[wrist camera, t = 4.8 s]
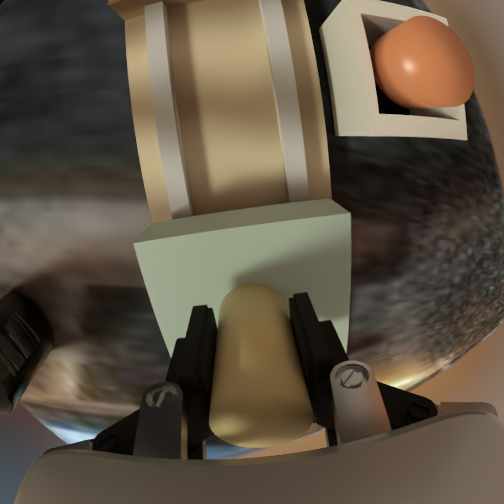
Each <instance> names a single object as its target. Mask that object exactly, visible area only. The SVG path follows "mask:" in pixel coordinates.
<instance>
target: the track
mask: <svg viewBox="0 0 504 504" xmlns="http://www.w3.org/2000/svg"><path fill="white" fill-rule="evenodd" d="M108 6H109V7H110V8H111V9H113V10H114V11H115V12H116V13H117V14H118V15H119V16H120V17H121V18H122V19H124V20H125V36H126V53H127V66H128V78H129V88H130V97H131V105H132V113H133V120H134V128H135V134H136V141H137V147H138V153H139V159H140V165H141V170H142V176H143V181H144V186H145V191H146V196H147V201H148V206H149V210H150V215H151V219H152V223H155V222H161V221H167V220H173V219H179V218H185V217H191V216H198V215H204V214H211V213H217V212H224V211H231V210H238V209H245V208H253V207H260V206H268V205H276V204H284V203H292V202H301V201H309V200H319V199H328V198H330V199H331V200H332V194H331V180H330V167H329V156H328V145H327V136H326V127H325V119H324V111H323V103H322V96H321V89H320V82H319V76H318V70H317V64H316V58H315V52H314V47H313V42H312V37H311V32H310V27H309V22H308V17H307V13H306V8H305V4H304V0H108Z"/></svg>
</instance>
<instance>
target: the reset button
mask: <svg viewBox="0 0 504 504" xmlns="http://www.w3.org/2000/svg"><path fill="white" fill-rule="evenodd" d="M370 57H371V63H372V68H373V74H374V79H375V82H376V83H377V85H378V87H379V88H380V89H381V91H382V92H383V93H384V94H385V95H386V96H387V97H388V98H389V99H390V100H391V101H393V102H394V103H396V104H397V105H399V106H402V107H404V108H407V109H426V108H440V107H456V106H460V105H462V104H464V103H465V102H466V101H467V100H468V99H469V98H470V96H471V94H472V91H473V88H474V69H473V65H472V61H471V58H470V56H469V54H468V51H467V50H466V48H465V46H464V44H463V43H462V41H461V40H460V39H459V37H458V36H457V35H456V34H455V33H454V32H453V31H452V30H451V29H450V28H449V27H448V26H447V25H445V24H444V23H442V22H441V21H439V20H437V19H435V18H432V17H429V16H422V15H421V16H414V17H412V18H410V19H408V20H406V21H405V22H403V23H401V24H400V25H398V26H396V27H395V28H393V29H391V30H390V31H388V32H386V33H385V34H383V35H382V36H380V37H379V38H377V39H376V40H375V42H374V43H373V45H372V47H371V50H370Z"/></svg>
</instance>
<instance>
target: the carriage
mask: <svg viewBox="0 0 504 504" xmlns="http://www.w3.org/2000/svg"><path fill="white" fill-rule="evenodd" d="M133 244H134V248H135V251H136V255H137V258H138V262H139V265H140V269H141V272H142V276H143V279H144V282H145V285H146V289H147V292H148V295H149V298H150V301H151V304H152V307H153V310H154V313H155V316H156V319H157V321H158V324H159V327H160V330H161V333H162V335H163V338H164V341H165V343H166V346H167V349H168V351H169V354H170V356H171V357H172V354H173V350H174V346H175V343H176V340H177V339H178V338H185V336H186V332H187V328H188V324H189V320H190V316H191V312H192V308H193V306H198V305H207V306H208V308H213V312H214V316H215V320H216V325H217V339H216V349H215V359H214V369H213V380H212V392H211V403H210V415H209V426H210V428H211V430H212V432H213V433H214V434H215V435H216V436H217V437H218V438H220V439H222V440H223V441H225V442H228V443H230V444H233V445H237V446H241V447H248V448H265V447H273V446H277V445H281V444H285V443H287V442H290V441H292V440H294V439H296V438H298V437H299V436H301V435H302V434H304V433H305V432H306V431H307V430H308V429H309V428H310V426H311V424H312V422H313V418H314V416H313V410H312V406H311V402H310V398H309V394H308V390H307V386H306V382H305V378H304V374H303V370H302V366H301V362H300V358H299V354H298V350H297V346H296V342H295V338H294V334H293V330H292V326H291V322H290V312H289V298H292V297H293V294H295V293H302V292H307V293H308V296H309V298H310V300H311V303H312V305H313V308H314V310H315V313H316V315H317V318H318V320H319V322H320V321H325V320H331V321H332V323H333V325H334V327H335V330H336V332H337V334H338V336H339V339H340V341H341V343H342V345H343V347H344V350H345V352H346V353H347V341H348V328H349V312H350V290H351V213H350V212H348V211H347V210H346V209H344V208H343V207H341V206H340V205H339V204H337V203H336V202H334V201H333V200H331V199H330V198H328V199H319V200H309V201H301V202H292V203H284V204H276V205H268V206H260V207H253V208H245V209H238V210H231V211H224V212H217V213H211V214H204V215H198V216H191V217H185V218H179V219H173V220H167V221H161V222H155V223H152V224H151V225H150V226H149V227H148V228H147V229H146V230H145V231H144V232H143V234H142V235H141V236H140V237H139V238H138V239H137V240H136V241H135V242H134V243H133Z"/></svg>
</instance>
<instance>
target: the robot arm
mask: <svg viewBox="0 0 504 504" xmlns="http://www.w3.org/2000/svg"><path fill="white" fill-rule="evenodd" d="M0 1H1V0H0ZM289 312H290V322H291V326H292V330H293V334H294V338H295V342H296V346H297V350H298V354H299V358H300V362H301V366H302V370H303V374H304V378H305V382H306V386H307V390H308V394H309V398H310V402H311V406H312V410H313V416H314V418H313V423H317V424H319V425H321V426H323V427H325V433H326V442H327V447H326V448H321V449H316V450H311V451H304V452H298V453H291V454H284V455H276V456H267V457H256V458H243V459H220V460H207V453H206V441H205V439H206V438H208V437H209V436H210V435H211V434H214V433H213V432H212V430H211V428H210V426H209V415H210V403H211V392H212V380H213V369H214V359H215V349H216V339H217V325H216V320H215V316H214V312H213V308H208V306H207V305H198V306H193V308H192V312H191V316H190V320H189V324H188V328H187V332H186V336H185V338H178V339H177V340H176V343H175V346H174V350H173V354H172V357H171V361H170V365H169V369H168V372H167V376H166V380H165V382H159V383H156V384H154V385H152V386H150V387H149V388H148V389H147V390H146V391H145V392H144V394H143V396H142V401H141V406H140V409H138V410H137V411H135V412H134V413H132V414H130V415H129V416H127V417H125V418H124V419H122V420H120V421H119V422H117V423H115V424H114V425H112V426H110V427H109V428H107V429H105V430H104V431H102V432H100V433H99V434H98V435H97V436H96V437H95V439H94V441H93V442H91V441H90V440H89V439H88V440H85V441H81V442H77V443H73V444H69V445H64V446H60V447H56V448H51V449H49V450H47V451H46V452H44V454H43V455H41V456H40V457H38V458H37V459H36V460H35V461H34V462H33V464H32V465H31V467H30V468H29V470H28V472H27V473H26V475H25V478H24V480H23V482H22V484H21V486H20V489H19V492H18V494H17V497H16V500H15V503H14V504H504V423H503V422H502V421H501V420H500V419H499V418H498V414H497V411H496V409H495V408H494V407H493V405H491V404H489V403H485V402H441V403H440V404H439V405H435V404H434V403H433V402H432V401H431V400H430V399H428V398H425V397H423V396H419V395H416V394H413V393H410V392H407V391H404V390H401V389H398V388H395V387H392V386H389V385H386V384H383V383H381V382H378V381H376V379H375V376H374V373H373V371H372V369H371V368H370V367H369V366H368V365H367V364H365V363H363V362H359V361H349V359H348V356H347V354H346V352H345V350H344V347H343V345H342V343H341V341H340V339H339V336H338V334H337V332H336V330H335V327H334V325H333V323H332V321H331V320H325V321H320V322H319V320H318V318H317V315H316V313H315V310H314V308H313V305H312V303H311V300H310V298H309V296H308V293H307V292H302V293H295V294H293V297H292V298H289Z"/></svg>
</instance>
